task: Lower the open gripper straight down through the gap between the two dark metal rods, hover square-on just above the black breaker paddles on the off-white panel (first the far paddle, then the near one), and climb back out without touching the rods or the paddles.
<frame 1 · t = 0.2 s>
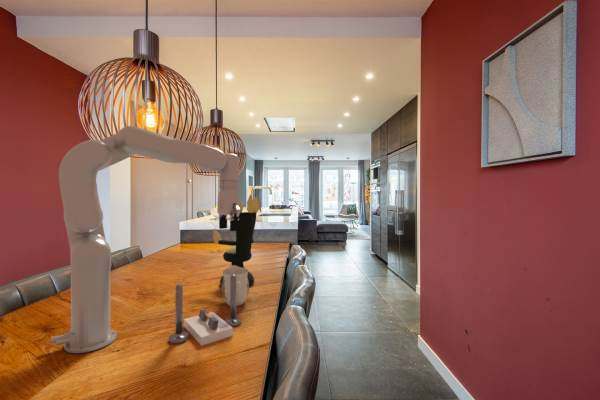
hand: (228, 229, 113), 31 cm above the table, tool pointing down, fingers open, 9 cm apart
pitcher: (235, 304, 118), on the table
paddles: (208, 318, 95), point 4 cm above the table, hinge at 10.0°
rod left: (178, 339, 89), on the table
rod right: (233, 323, 100), on the table
candelabra: (240, 285, 143), on the table
panel: (207, 330, 95), on the table
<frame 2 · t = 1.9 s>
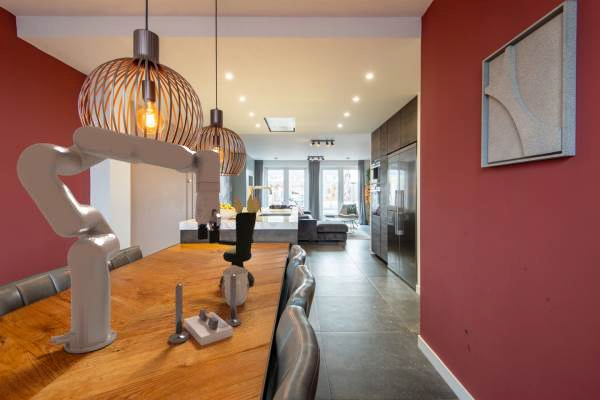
hand: (208, 241, 94), 29 cm above the table, tool pointing down, fingers open, 9 cm apart
nothing on the table moved.
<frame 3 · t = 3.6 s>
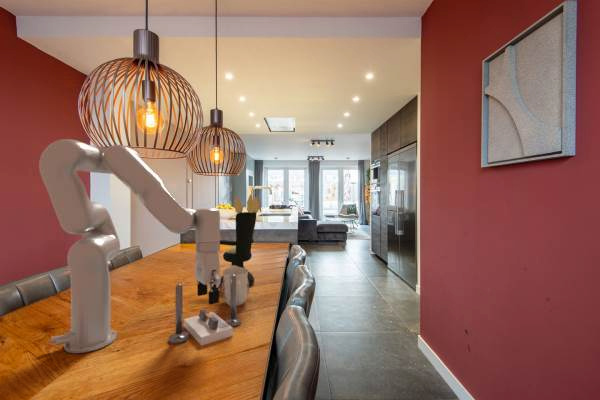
hand: (208, 298, 94), 10 cm above the table, tool pointing down, fingers open, 9 cm apart
nothing on the table moved.
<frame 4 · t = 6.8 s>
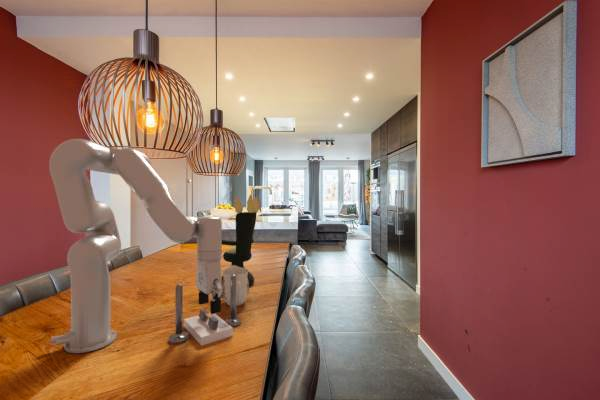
hand: (209, 308, 93), 8 cm above the table, tool pointing down, fingers open, 9 cm apart
nothing on the table moved.
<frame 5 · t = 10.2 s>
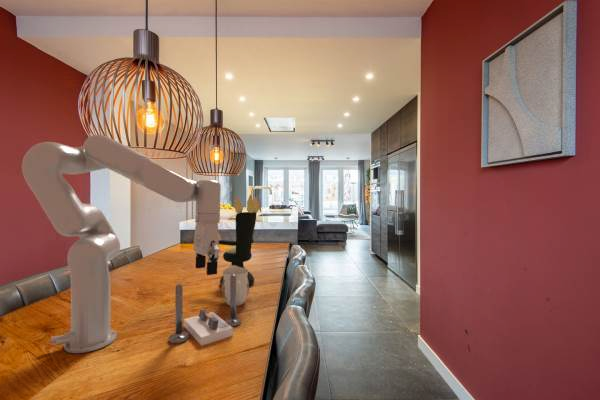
hand: (205, 271, 94), 20 cm above the table, tool pointing down, fingers open, 9 cm apart
nothing on the table moved.
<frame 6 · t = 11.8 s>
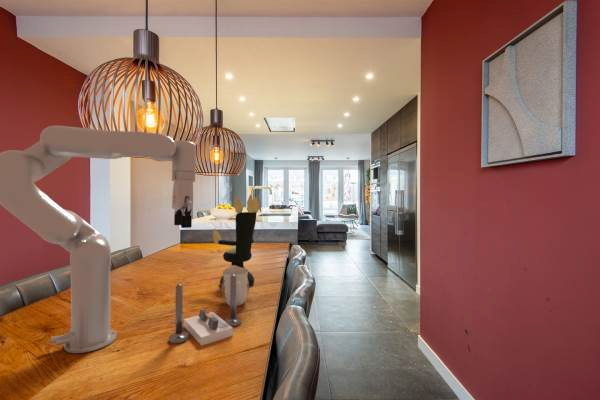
hand: (182, 226, 101), 33 cm above the table, tool pointing down, fingers open, 9 cm apart
nothing on the table moved.
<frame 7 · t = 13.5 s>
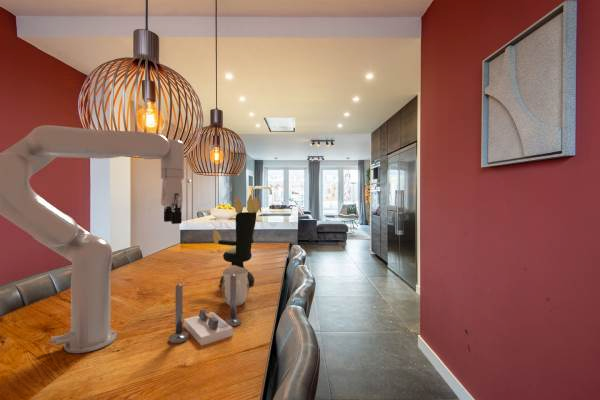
hand: (172, 222, 104), 34 cm above the table, tool pointing down, fingers open, 9 cm apart
nothing on the table moved.
at the end: paddles at +10° (first picture: +10°); rod left moved 0.0 cm from its start; rod right moved 0.0 cm from its start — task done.
